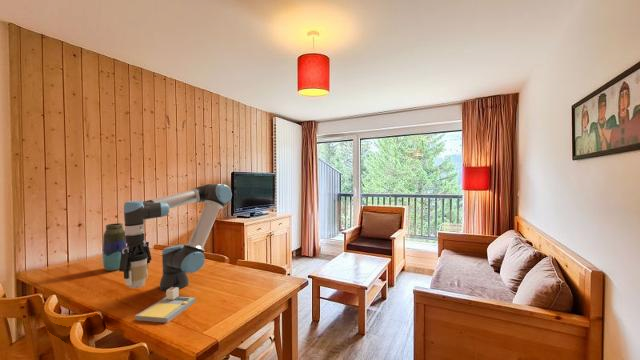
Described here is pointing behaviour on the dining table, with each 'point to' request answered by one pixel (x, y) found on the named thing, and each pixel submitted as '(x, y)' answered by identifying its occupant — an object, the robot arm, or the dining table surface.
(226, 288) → the dining table surface
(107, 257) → the vase
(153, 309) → the panel
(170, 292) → the breaker slider
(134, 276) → the coffee cup
